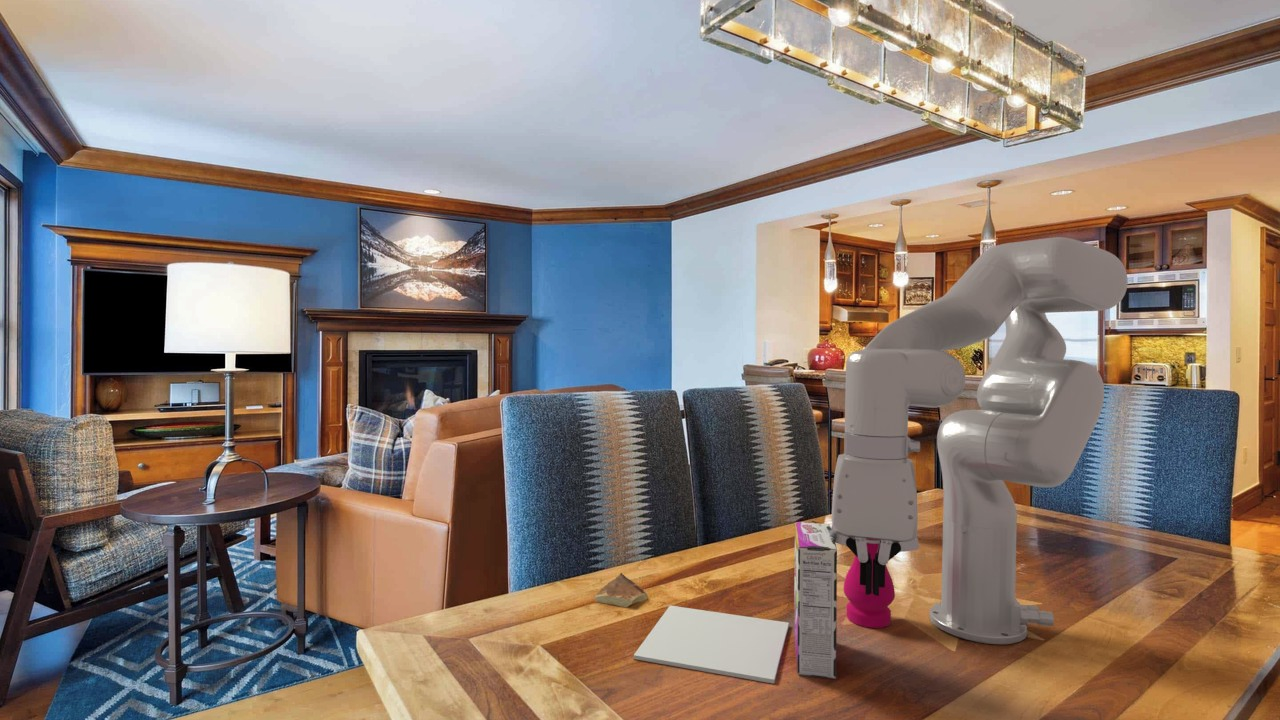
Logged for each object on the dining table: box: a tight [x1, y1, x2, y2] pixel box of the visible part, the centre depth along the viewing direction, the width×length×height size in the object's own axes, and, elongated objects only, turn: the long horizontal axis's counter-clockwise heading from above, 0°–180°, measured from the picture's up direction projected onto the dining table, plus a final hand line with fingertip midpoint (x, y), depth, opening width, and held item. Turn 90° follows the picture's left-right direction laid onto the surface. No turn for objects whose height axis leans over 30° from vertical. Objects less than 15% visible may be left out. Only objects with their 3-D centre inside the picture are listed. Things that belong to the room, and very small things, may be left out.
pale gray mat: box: [633, 605, 790, 684], centre depth 89 cm, size 18×17×1 cm
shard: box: [594, 572, 648, 608], centre depth 106 cm, size 11×8×2 cm
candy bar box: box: [793, 521, 838, 680], centre depth 85 cm, size 11×5×16 cm, turn 168°
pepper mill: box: [843, 539, 896, 629], centre depth 97 cm, size 7×7×20 cm
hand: (871, 591), depth 82 cm, fingers closed
